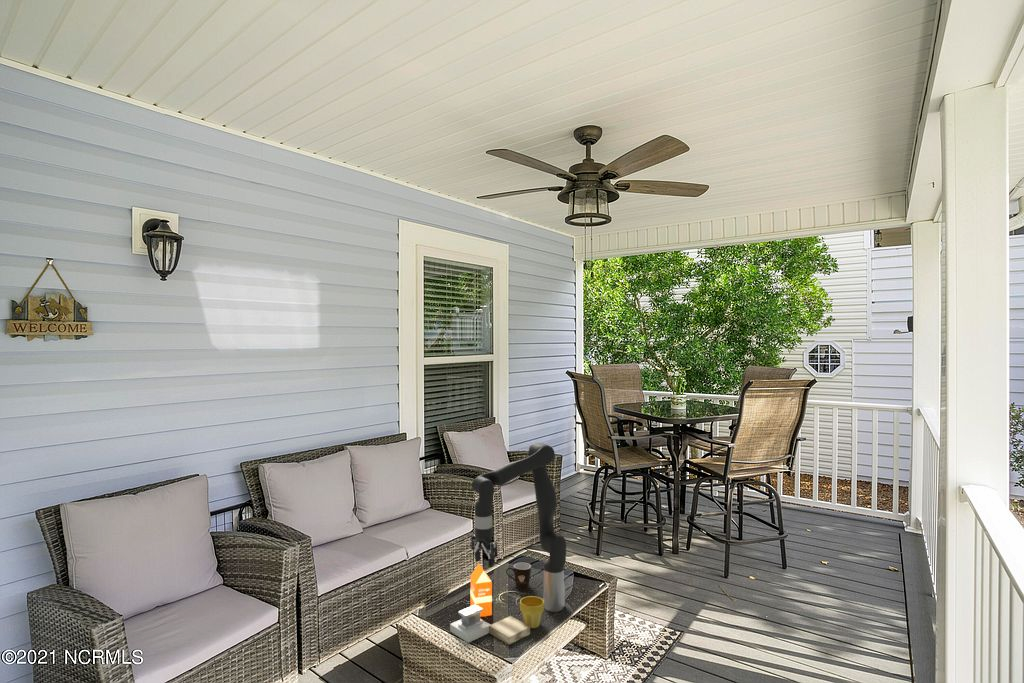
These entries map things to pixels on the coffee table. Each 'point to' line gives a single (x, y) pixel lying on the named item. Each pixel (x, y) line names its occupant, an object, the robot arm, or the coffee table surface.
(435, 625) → the coffee table surface
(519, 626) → the stand
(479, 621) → the block
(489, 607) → the orange juice
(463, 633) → the stand
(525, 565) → the coffee mug
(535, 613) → the plant pot
